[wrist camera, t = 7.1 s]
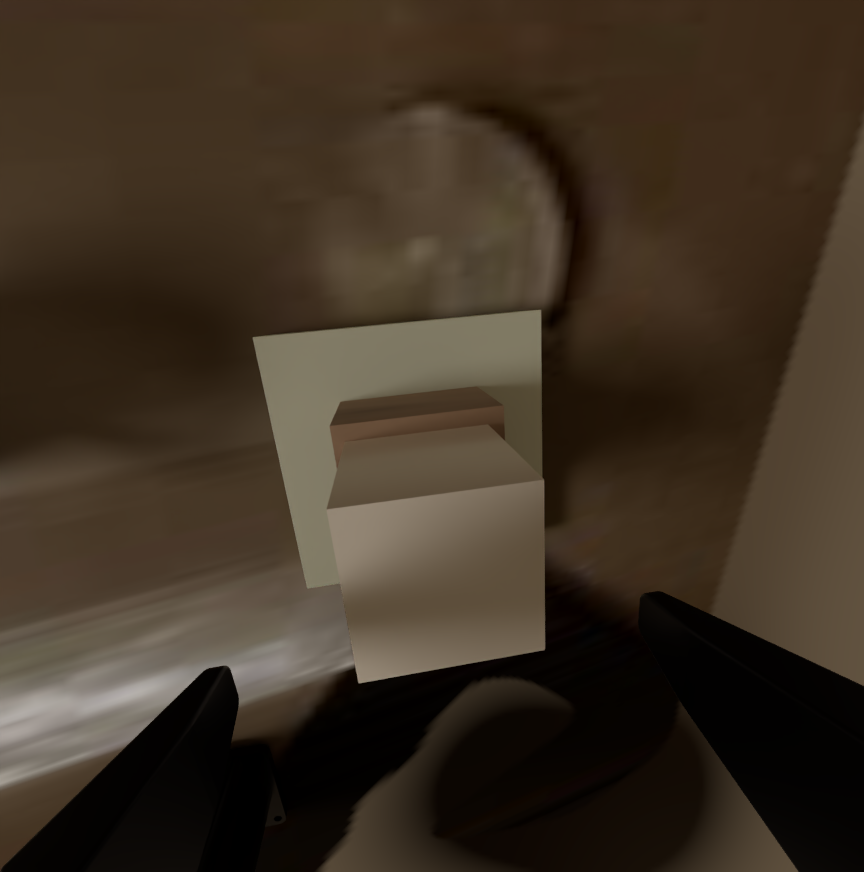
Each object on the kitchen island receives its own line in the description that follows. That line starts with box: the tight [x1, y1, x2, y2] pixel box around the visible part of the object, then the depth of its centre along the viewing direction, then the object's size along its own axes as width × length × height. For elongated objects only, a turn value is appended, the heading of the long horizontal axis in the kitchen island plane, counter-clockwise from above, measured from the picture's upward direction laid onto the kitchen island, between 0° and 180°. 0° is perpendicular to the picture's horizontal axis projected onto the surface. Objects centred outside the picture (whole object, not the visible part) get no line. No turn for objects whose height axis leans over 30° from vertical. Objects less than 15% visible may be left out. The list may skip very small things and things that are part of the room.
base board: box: [253, 310, 542, 589], centre depth 19 cm, size 12×12×2 cm
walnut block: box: [330, 386, 505, 468], centre depth 16 cm, size 6×6×4 cm
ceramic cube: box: [326, 424, 545, 683], centre depth 12 cm, size 5×5×5 cm
